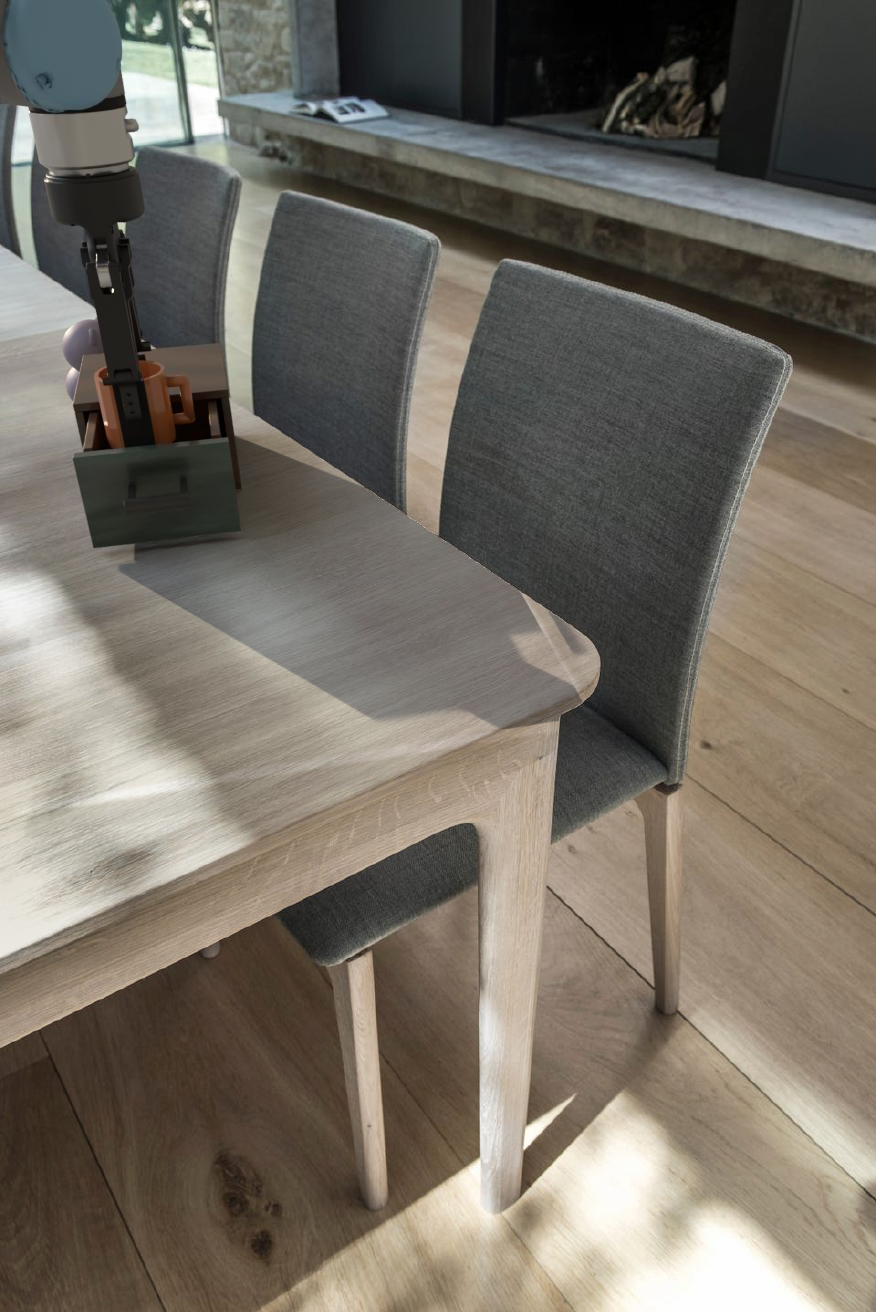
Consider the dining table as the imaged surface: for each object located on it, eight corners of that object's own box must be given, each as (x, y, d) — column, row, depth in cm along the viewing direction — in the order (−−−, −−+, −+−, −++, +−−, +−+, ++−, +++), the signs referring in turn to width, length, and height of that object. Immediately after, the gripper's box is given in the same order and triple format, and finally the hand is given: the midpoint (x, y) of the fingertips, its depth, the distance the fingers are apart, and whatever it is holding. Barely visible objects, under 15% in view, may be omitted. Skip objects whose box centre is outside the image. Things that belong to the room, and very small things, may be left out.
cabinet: (242, 490, 108) (228, 389, 102) (95, 506, 105) (72, 404, 99) (233, 434, 120) (221, 342, 114) (103, 448, 118) (83, 354, 112)
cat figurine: (79, 412, 128) (56, 312, 121) (145, 407, 129) (126, 307, 122) (70, 438, 121) (46, 333, 114) (140, 432, 122) (120, 328, 115)
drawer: (244, 554, 94) (231, 462, 89) (90, 572, 92) (68, 479, 87) (233, 470, 110) (221, 388, 105) (101, 484, 107) (83, 401, 102)
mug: (107, 455, 95) (92, 386, 92) (110, 431, 100) (96, 364, 97) (199, 445, 96) (187, 376, 93) (197, 422, 101) (186, 355, 98)
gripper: (134, 184, 78) (184, 472, 91) (139, 148, 94) (181, 398, 106) (29, 191, 77) (95, 482, 90) (52, 153, 92) (105, 405, 105)
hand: (142, 436), depth 98 cm, fingers closed on mug, 6 cm apart
